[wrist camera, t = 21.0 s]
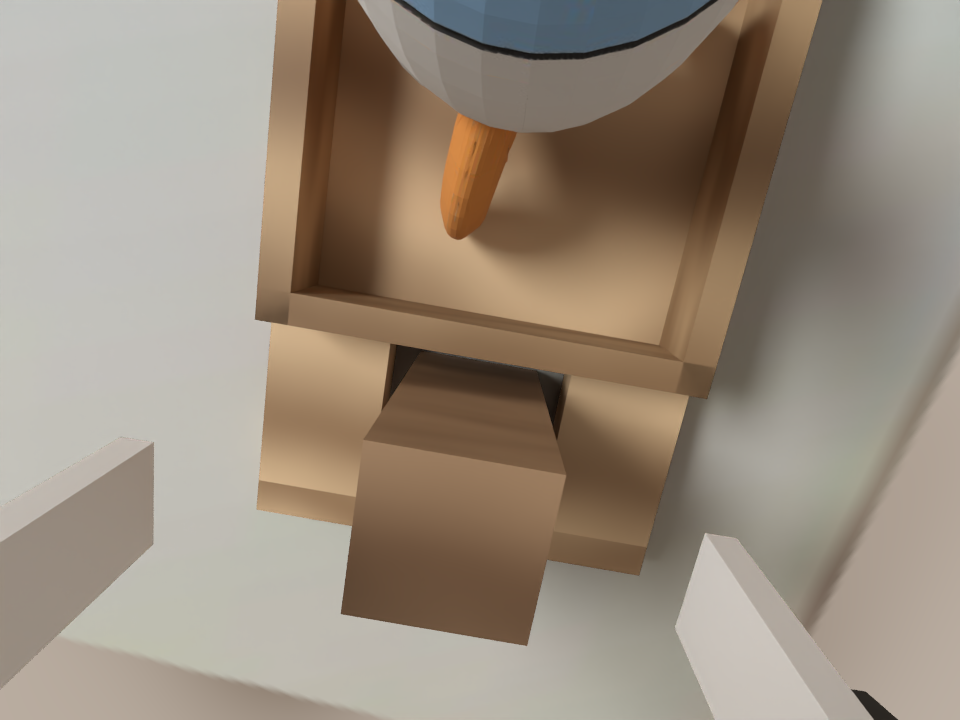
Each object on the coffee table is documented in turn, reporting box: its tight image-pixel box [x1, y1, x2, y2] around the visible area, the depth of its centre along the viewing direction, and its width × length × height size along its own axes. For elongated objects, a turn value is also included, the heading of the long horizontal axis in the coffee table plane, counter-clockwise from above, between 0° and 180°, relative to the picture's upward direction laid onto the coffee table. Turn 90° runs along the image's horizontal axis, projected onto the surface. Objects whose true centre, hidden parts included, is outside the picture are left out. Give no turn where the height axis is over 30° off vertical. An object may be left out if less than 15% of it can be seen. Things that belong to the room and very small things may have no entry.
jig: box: [255, 0, 822, 575], centre depth 17 cm, size 23×15×4 cm, turn 170°
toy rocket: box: [358, 0, 739, 240], centre depth 11 cm, size 10×11×15 cm
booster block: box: [341, 351, 566, 646], centre depth 16 cm, size 4×4×9 cm
